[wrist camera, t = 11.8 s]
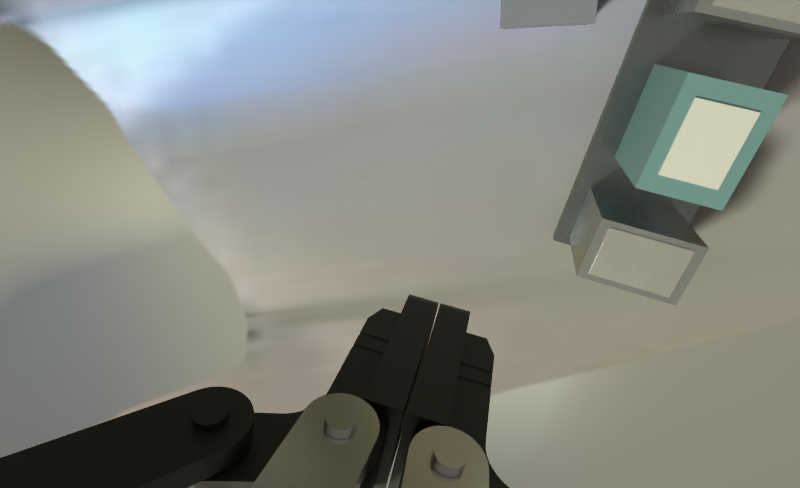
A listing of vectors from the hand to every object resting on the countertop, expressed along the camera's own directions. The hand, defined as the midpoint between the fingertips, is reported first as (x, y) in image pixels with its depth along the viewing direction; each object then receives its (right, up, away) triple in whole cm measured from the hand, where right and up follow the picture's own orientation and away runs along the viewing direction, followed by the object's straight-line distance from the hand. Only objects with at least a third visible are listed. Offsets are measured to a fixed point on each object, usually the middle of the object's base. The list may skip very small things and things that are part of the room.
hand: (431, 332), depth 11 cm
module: (+16, +10, +18) cm, 26 cm away
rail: (+17, +10, +19) cm, 27 cm away
